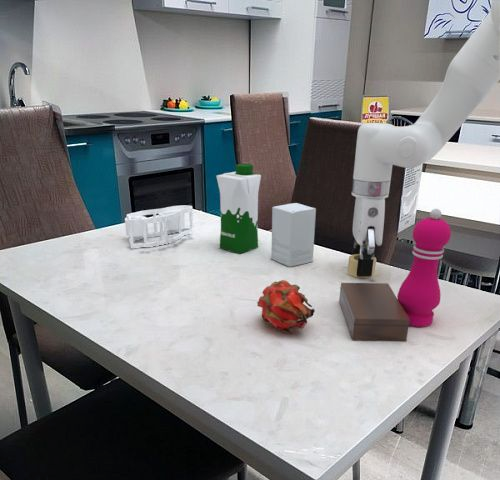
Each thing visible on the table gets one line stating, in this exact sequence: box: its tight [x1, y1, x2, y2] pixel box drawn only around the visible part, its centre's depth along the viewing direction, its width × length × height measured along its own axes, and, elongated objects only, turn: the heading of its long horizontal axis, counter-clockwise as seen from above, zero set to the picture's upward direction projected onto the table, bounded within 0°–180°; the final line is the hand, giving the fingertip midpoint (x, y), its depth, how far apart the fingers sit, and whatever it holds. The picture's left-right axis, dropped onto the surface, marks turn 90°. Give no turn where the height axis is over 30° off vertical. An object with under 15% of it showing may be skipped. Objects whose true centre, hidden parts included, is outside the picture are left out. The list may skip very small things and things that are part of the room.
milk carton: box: [215, 163, 262, 255], centre depth 123 cm, size 9×9×20 cm
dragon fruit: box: [256, 279, 316, 334], centre depth 87 cm, size 8×8×12 cm
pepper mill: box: [396, 208, 452, 328], centre depth 87 cm, size 7×7×20 cm
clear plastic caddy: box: [124, 204, 194, 249], centre depth 133 cm, size 20×11×7 cm, turn 126°
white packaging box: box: [270, 202, 317, 268], centre depth 117 cm, size 7×7×13 cm
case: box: [338, 282, 410, 342], centre depth 90 cm, size 9×16×4 cm, turn 179°
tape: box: [346, 254, 377, 279], centre depth 112 cm, size 6×6×4 cm
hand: (361, 269), depth 112 cm, fingers closed on tape, 6 cm apart
